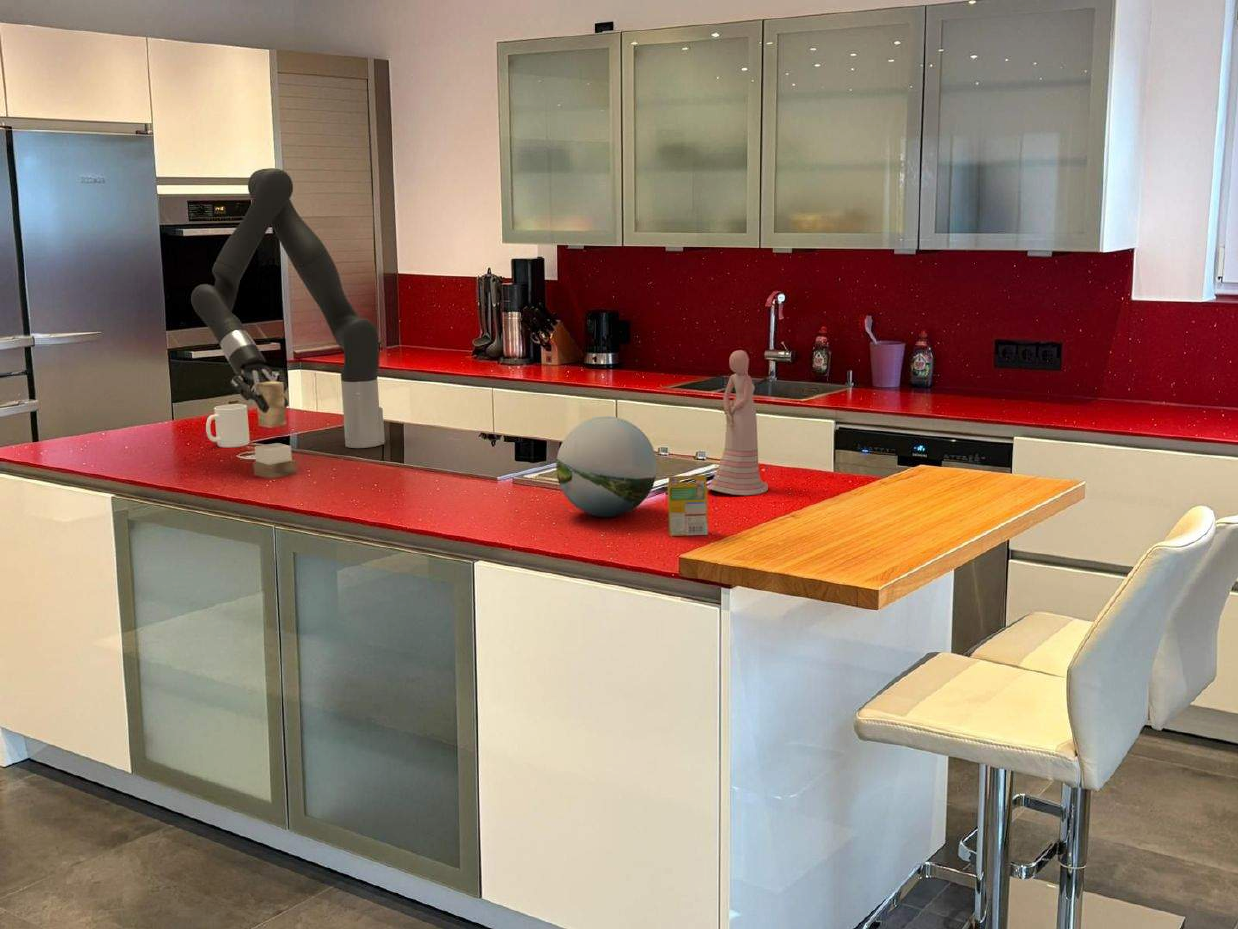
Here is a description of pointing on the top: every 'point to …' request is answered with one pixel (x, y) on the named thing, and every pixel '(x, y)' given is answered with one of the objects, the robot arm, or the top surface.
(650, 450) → the decorative sphere
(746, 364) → the figurine
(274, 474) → the slab base
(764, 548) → the top surface
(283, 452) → the slab top
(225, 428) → the cup
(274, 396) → the pillar
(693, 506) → the crayon box
